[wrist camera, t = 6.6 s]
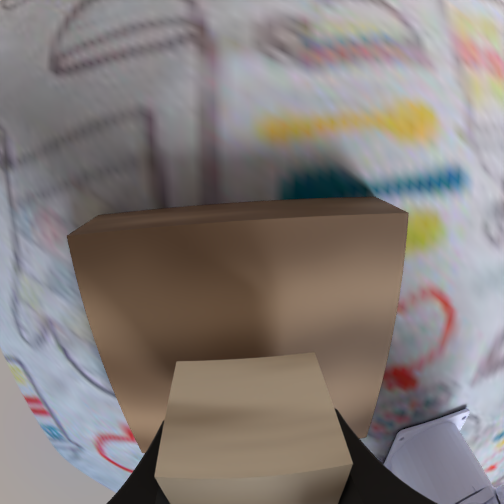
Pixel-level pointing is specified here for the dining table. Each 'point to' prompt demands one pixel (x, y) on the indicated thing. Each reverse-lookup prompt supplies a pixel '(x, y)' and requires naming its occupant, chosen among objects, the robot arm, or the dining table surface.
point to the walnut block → (243, 294)
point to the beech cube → (252, 434)
